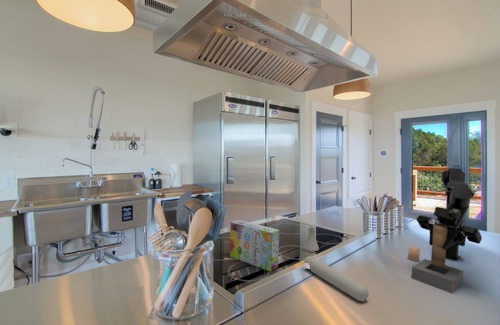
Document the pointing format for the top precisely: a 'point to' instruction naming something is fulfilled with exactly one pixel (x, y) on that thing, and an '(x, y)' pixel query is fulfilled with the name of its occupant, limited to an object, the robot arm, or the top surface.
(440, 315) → the top surface
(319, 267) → the tube
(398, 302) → the top surface
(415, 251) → the short pin
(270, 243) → the snack box
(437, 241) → the tall pin
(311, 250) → the flask
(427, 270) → the grey square socket block
